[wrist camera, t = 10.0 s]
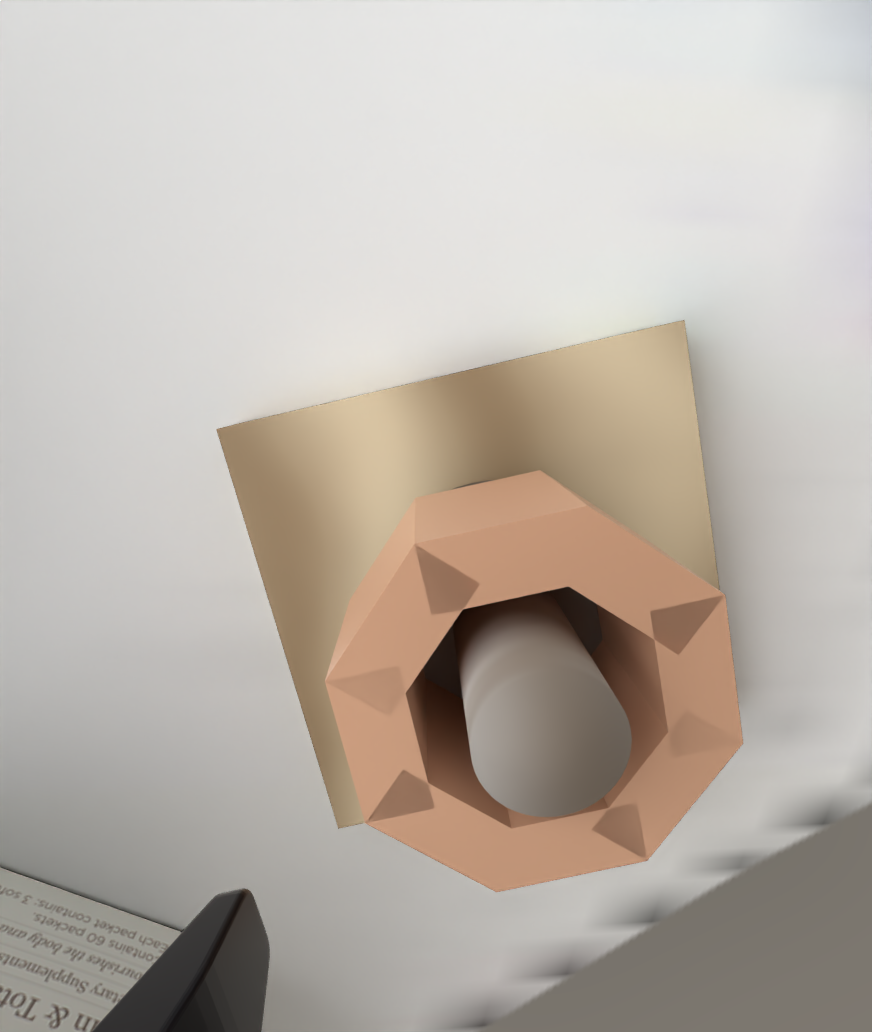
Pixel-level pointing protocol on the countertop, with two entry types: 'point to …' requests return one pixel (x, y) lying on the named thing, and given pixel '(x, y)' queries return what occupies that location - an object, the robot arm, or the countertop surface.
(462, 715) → the ring
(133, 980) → the supplement box
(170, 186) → the countertop surface
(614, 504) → the post stand
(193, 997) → the robot arm
